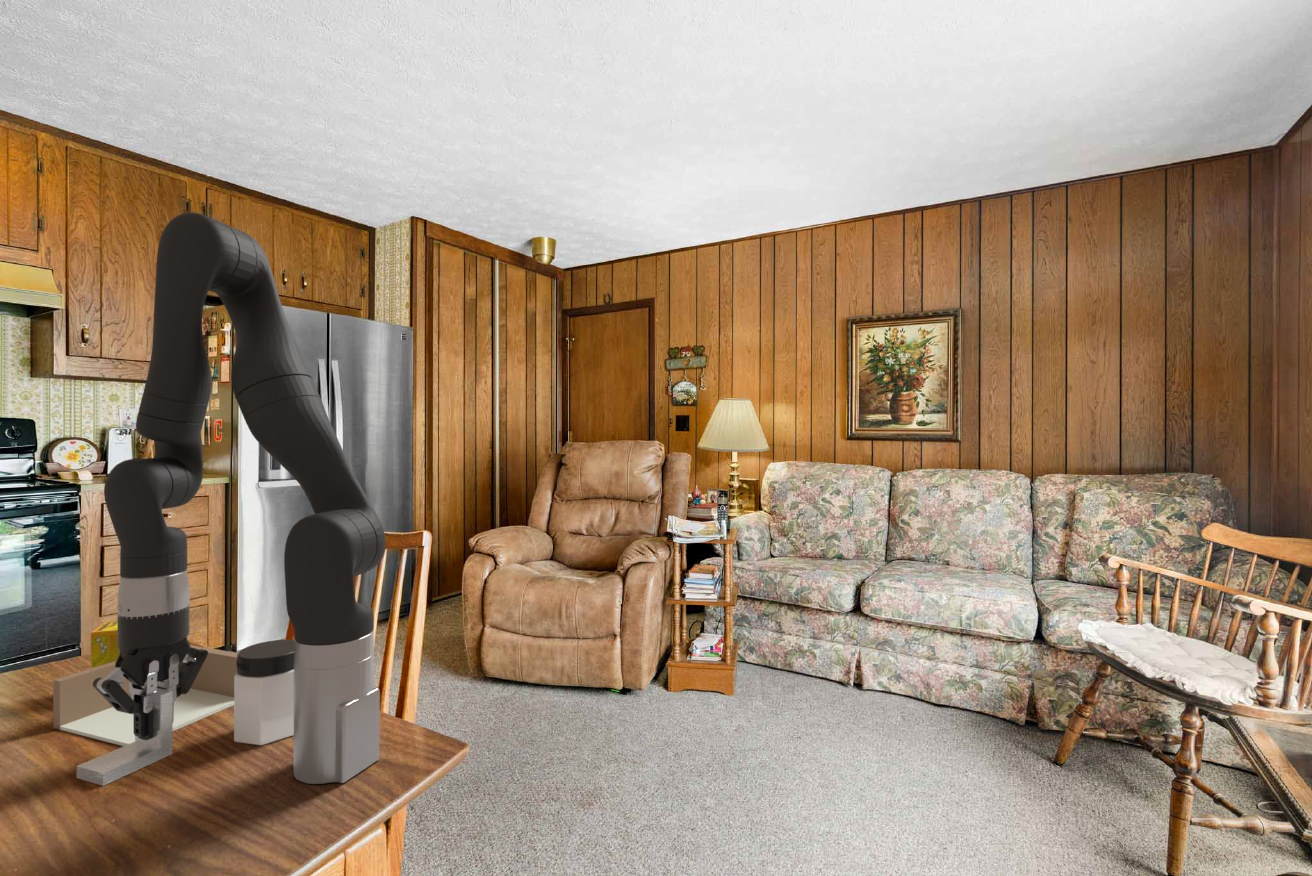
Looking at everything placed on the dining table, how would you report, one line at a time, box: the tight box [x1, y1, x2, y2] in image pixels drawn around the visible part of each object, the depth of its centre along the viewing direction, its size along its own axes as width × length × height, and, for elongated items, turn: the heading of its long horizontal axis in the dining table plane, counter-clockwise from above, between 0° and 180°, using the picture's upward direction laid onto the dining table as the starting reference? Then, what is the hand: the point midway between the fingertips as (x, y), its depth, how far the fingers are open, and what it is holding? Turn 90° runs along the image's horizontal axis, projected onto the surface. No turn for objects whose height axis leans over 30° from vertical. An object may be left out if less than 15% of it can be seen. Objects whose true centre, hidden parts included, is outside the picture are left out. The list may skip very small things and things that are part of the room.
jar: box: [233, 639, 294, 746], centre depth 90 cm, size 9×8×12 cm
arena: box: [52, 644, 239, 747], centre depth 95 cm, size 17×17×7 cm
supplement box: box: [90, 620, 119, 669], centre depth 103 cm, size 6×6×11 cm
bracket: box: [76, 688, 174, 786], centre depth 80 cm, size 8×5×8 cm, turn 161°
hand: (154, 734), depth 84 cm, fingers closed on bracket, 1 cm apart
